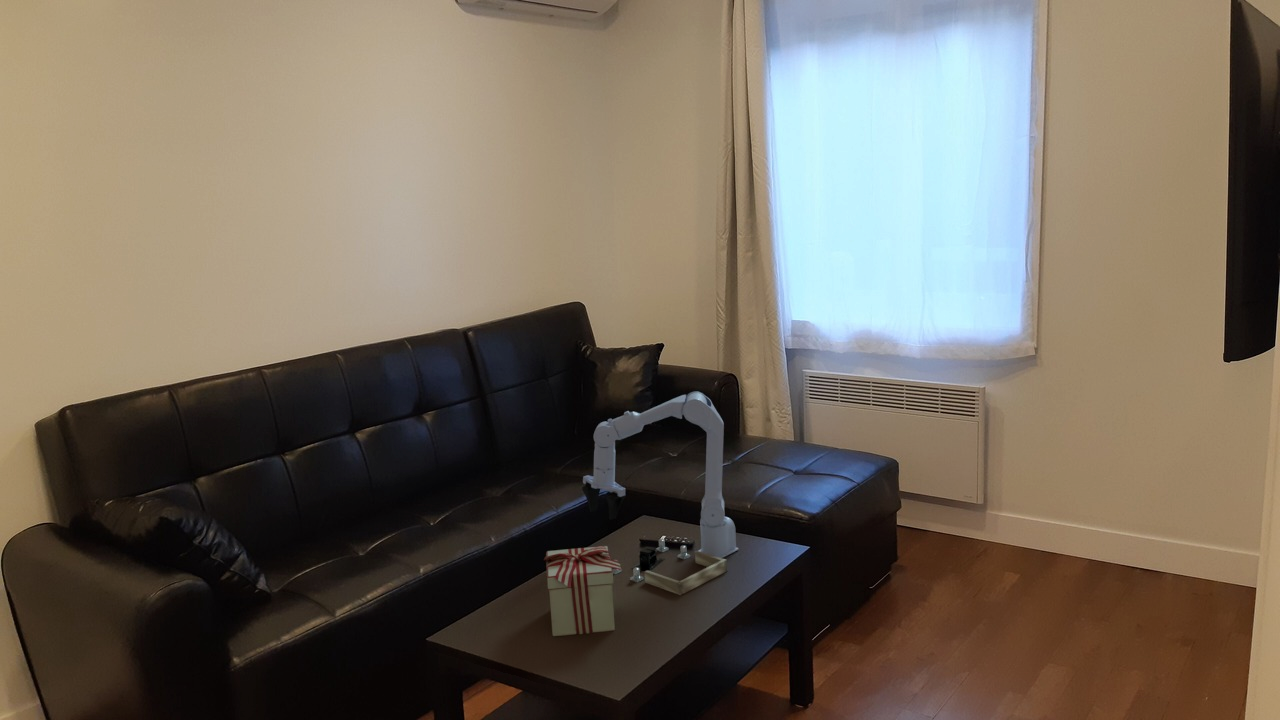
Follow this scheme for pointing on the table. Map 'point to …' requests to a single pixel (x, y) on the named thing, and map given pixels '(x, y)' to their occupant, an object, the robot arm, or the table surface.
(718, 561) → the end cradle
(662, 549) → the guide pins
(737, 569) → the table surface
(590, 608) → the gift box
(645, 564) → the black boxy piece
